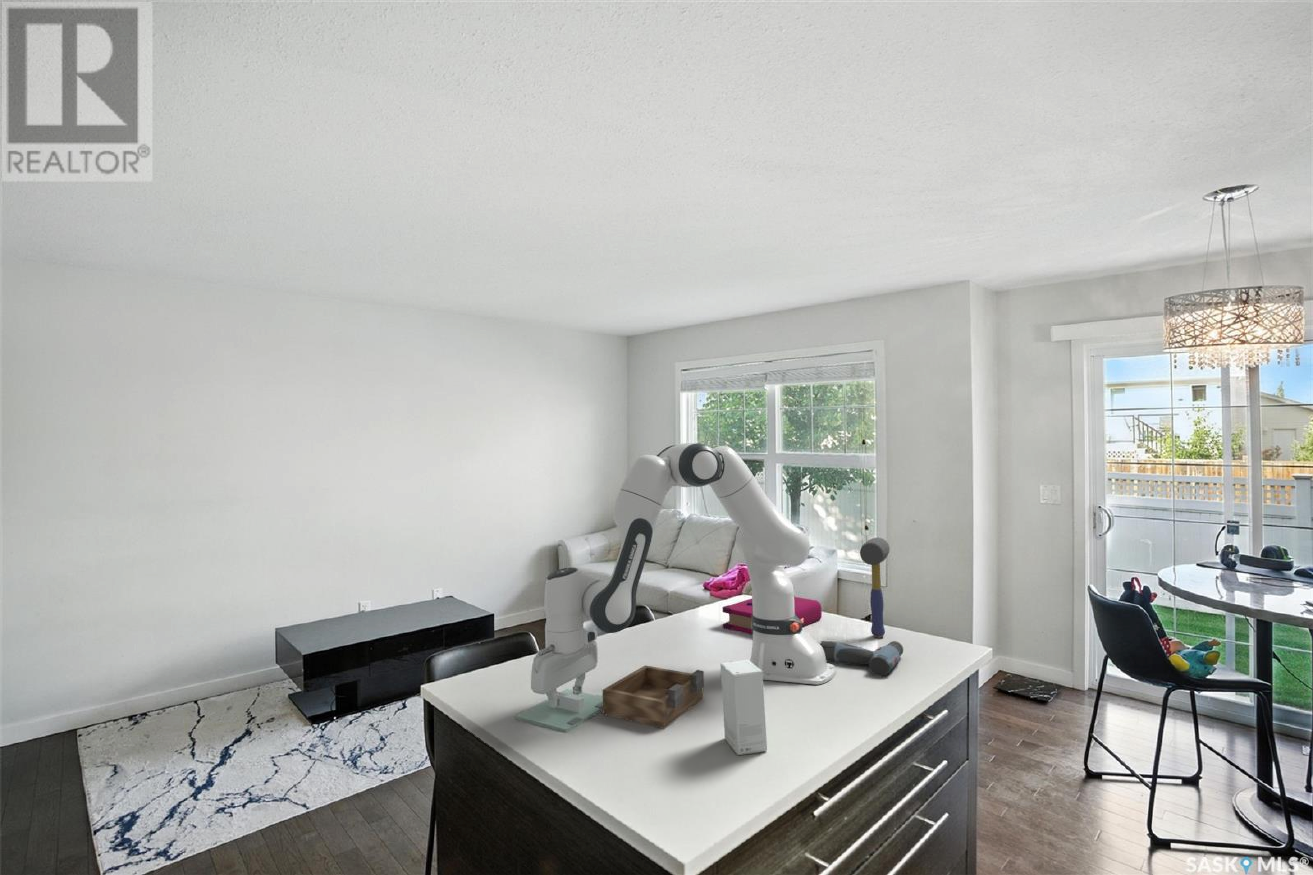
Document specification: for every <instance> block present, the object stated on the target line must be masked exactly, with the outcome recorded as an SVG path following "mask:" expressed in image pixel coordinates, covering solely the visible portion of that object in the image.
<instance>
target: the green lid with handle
mask: <svg viewBox="0 0 1313 875" xmlns="http://www.w3.org/2000/svg"><path fill="white" fill-rule="evenodd" d="M555 695H556V697H557V698H560V701H559V703H560V705H559V706H557V707H556V708H552V707H550V704H549V698H548V697H547V699H545V700H543V701H541V702H539V703H537V704H535V705H533V706H531V707H529V708H527V709H526V710H524V711H522V712H520V713H518V714H516V715H515V720H519V721H523V722H527V723H530V724H533V723H534V725H538V726H542V727H545V728H549V729H552V728H553V729H552V730H557V731H561V732H564V733H567V732H569V731H571V730H573V729H575V728H577V727H578V726H579V725H581V724H582V723H584V722H586V721H587V720H590V718H593V717H594V716H595V715H597V714H599V713H600V712H602V711H603V696H600V695H595V694H592V693H587V692H583V691H582V693H581V694H579V695H575V694H573V689H568V688H566V689H564V690H562V691H557V690H556V693H555ZM601 710H602V711H601ZM599 711H600V712H599ZM598 712H599V713H598ZM594 714H595V715H594ZM593 715H594V716H593ZM580 723H581V724H580ZM572 728H573V729H572Z"/></svg>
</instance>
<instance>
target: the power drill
mask: <svg viewBox="0 0 1313 875" xmlns="http://www.w3.org/2000/svg"><path fill="white" fill-rule="evenodd" d="M819 644H820V645H821V646H822V648H823V650H824V653H825V657H826V661H827V662H828V661H829V662H831V663H832V662H833V663H837V664H844V665H855V666H861V665H868V666H869V667H868V668H869V670H870V671H871V672H872V674H874V676H879V677H885V676H887V675H888V673H890V671H891V670H892V669H893V668H894V666H895V665H896V664H897V663H898V662H899V661H900V659H901V656H902V655H903V653H904V647H903V645H902V644H901V643H900V642H898V641H895V640H893V641H890V642H889V643H887V644H885V645H884V646H879V647H878V648H876V649H875V650H870V649H869V648H868V649H867V648H863V647H861V646H858V645H857V646H856V645H852V644H849V643H843V642H839V641H838V642H837V641H831V640H829V641H828V640H827V641H825V640H823V641H821V642H820V643H819Z"/></svg>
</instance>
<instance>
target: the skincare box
mask: <svg viewBox="0 0 1313 875" xmlns="http://www.w3.org/2000/svg"><path fill="white" fill-rule="evenodd" d="M720 678H721V680H720V681H721V693H722V695H721V697H722V711H723V714H722V715H723V727H724V739H725V741H726V742H727V743H728V745H729V746H730V747H731V748H732V750H733V751H734V753H736V755H737V756H742V755H749V754H757V753H763V752H766V751H768V739H767V728H766V727H767V726H766V709H765V695H764V694H765V692H764V691H765V690H764V679H763V671H761V670H760V669H759V668H758V667H756V666H755V665H754V664H753V663H752V662H750V659H743V660H736V661H735V660H734V661H730V662H721V663H720Z"/></svg>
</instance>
